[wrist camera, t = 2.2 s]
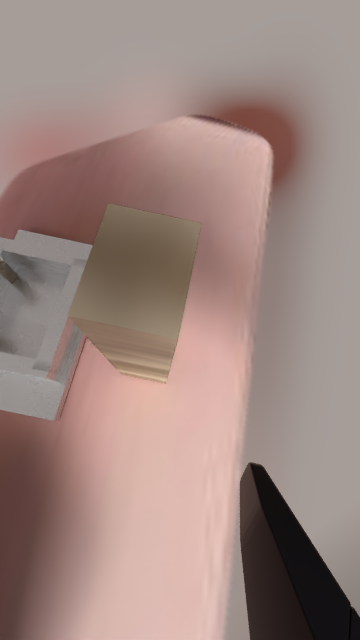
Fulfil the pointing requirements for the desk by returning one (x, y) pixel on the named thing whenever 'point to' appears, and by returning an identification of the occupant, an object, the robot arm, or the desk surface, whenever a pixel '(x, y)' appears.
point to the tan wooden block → (136, 289)
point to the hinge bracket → (38, 322)
